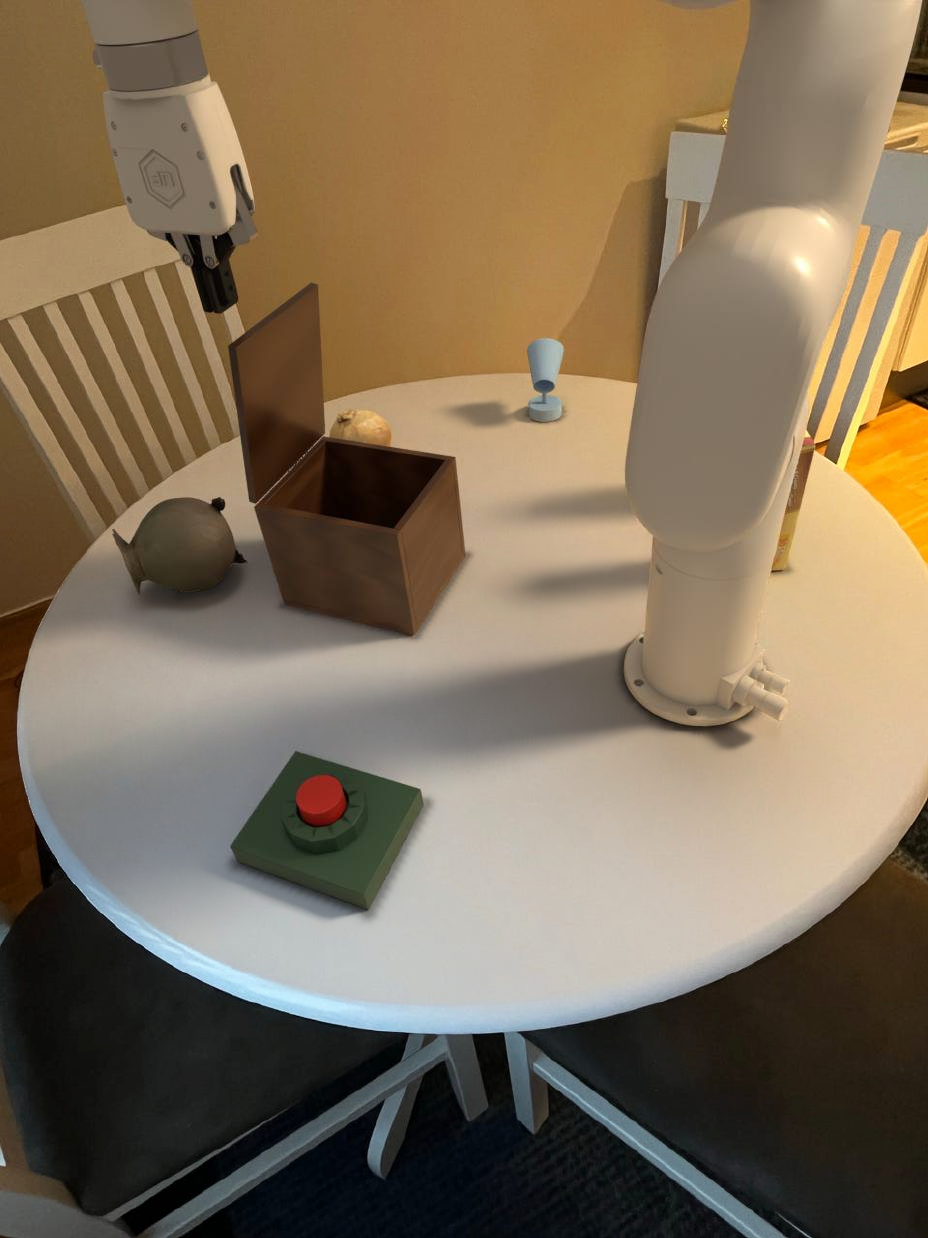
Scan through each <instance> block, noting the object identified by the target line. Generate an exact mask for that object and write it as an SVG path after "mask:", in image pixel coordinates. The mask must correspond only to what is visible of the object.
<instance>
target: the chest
mask: <svg viewBox="0 0 928 1238" xmlns="http://www.w3.org/2000/svg"><path fill="white" fill-rule="evenodd" d="M458 477H459V476H458V467H457V458H456V456H454V455H453V456H452V455H445V454H439V453H433V452H426V451H420V450H414V449H413V450H412V449H407V448H401V447H394V446H390V447H389V446H382V445H376V444H369V443H363V442H356V441H350V440H344V439H337V438H331V437H330V436H324V435H323V436H322V437H321V438H320V439H319V440H318V441H317V442H316V443H315V444H314V445H313V446H312V447H311V448H310V449H309V450H308V451H307V452H306V453H305V454H304V455H303V456H302V457H301V459H300V460H299V461H298V462H297V463H296V464H295V465H294V466H293V467H292V468H291V469H290V470H289V471H288V472H287V473H286V474H285V475H284V476H283V477H282V478H281V479H280V480H279V481H278V482H277V483H276V484H275V485H274V486H273V487H272V488H271V489H270V490H269V491H268V492H267V493H266V494H265V495H264V496H263V497H262V498H261V499H260V500H259V501H258V502H257V503H256V504H255V505H254V507H253V509H254V512H255V516H256V519H257V522H258V526H259V528H260V532H261V534H262V538H263V542H264V545H265V548H266V551H267V554H268V558H269V562H270V565H271V568H272V571H273V574H274V577H275V581H276V584H277V587H278V590H279V594H280V597H281V599H282V602H283V603H282V604H283V605H284V606H288V607H292V608H296V609H300V610H305V611H308V612H314V613H318V614H321V615H326V616H330V617H334V618H338V619H343V620H347V621H352V622H355V623H359V624H364V625H368V626H372V627H376V628H380V629H385V630H389V631H393V632H398V633H402V634H405V635H410V636H416V634H417V632H418V631H419V629H420V627H421V626H422V624H423V622H424V621H425V620H426V618H427V616H428V615H429V613H430V611H431V610H432V608H433V607H434V605H435V604H436V602H437V601H438V599H439V597H440V596H441V594H442V593H443V591H444V590H445V588H446V587H447V585H448V583H449V582H450V580H451V579H452V578H453V576H454V574H455V573H456V571H457V569H458V568H459V566H460V565H461V563H462V561H463V560H464V559H465V557H466V546H465V537H464V527H463V517H462V506H461V497H460V487H459V478H458Z"/></svg>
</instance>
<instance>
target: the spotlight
mask: <svg viewBox="0 0 928 1238" xmlns="http://www.w3.org/2000/svg"><path fill="white" fill-rule="evenodd" d="M526 353H527V354H526V355H527V360H528V365H529V371H530V377H531V383H532V388H533V390H534V391H535V392H537V393H540V394H541V395H536V396H534V397H533V398H531V399H530V400H529V401H528V407H527V408H528V409H527V410H528V417H529V418H530V419H531V420H533V421H536V422H540V423H547V422H548V423H549V422H553V421H556V420H558V419H560V418H561V416H562V414H563V404H562V403H563V402H562V399H560V398H559V397H558V396H556V395H552V394H549V393H551V392H553V391H554V390H555V388H556V385H557V381H558V377H559V374H560V369H561V366H562V362H563V357H564V354H565V347H564V345H563V344H562V343H561V342H560V341H558V340H556V339H554V338H550V337H543V338H537V339H534V340H533V341H532V342H531V343H529V344H528V346H527V348H526Z"/></svg>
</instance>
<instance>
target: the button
mask: <svg viewBox="0 0 928 1238" xmlns="http://www.w3.org/2000/svg"><path fill="white" fill-rule="evenodd" d="M296 802H297V805H298V807H299V810H300V813H301V815H302V818H303V819H304V820H305V821H306V822H307V823H309V824H310V825H313V826H326V825H329V824H332V823H333V822H335V821H337V820H338V819H339V818H340V817H341V816H342V814H343V813H344V811H345V808H346V799H345V796H344V792H343V789H342V786H341V784H340V782H339V781H338V780H337V779H336V778H334V777H332V776H328V775H319V776H315V777H312V778H310V779H308V780H307V781H305V782H304V783H303V784H302V785H301V786H300V788H299V789H298V791H297V795H296Z"/></svg>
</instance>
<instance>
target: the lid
mask: <svg viewBox="0 0 928 1238" xmlns="http://www.w3.org/2000/svg"><path fill="white" fill-rule="evenodd" d="M320 315H321V314H320V295H319V284H318V283H314V282H309V283H308V284H307V285H305V287H303V288H302V289H300V290H299V291H298V292H296V293H295V294H293V296H292V297H290V298H289V299H287V300H286V301H284V302H283V303H282V304H281V305H279V306H278V307H277V308H276V309H274V310H272V311H271V312H270V313H269V314H267V315H266V316H265V317H264V318H262V319H261V320H259V322H257V323H256V324H255V325H253V326H252V327H250V328H249V329H248V330H246V331H245V332H243V334H242V335H240V336H239V337H237V338H236V339H235V340H233V341H232V342H231V343H229V344H228V345H227V350H228V356H229V363H230V364H229V365H230V371H231V378H232V386H233V392H234V394H233V395H234V400H235V407H236V414H237V422H238V429H239V437H240V445H241V452H242V460H243V466H244V473H245V481H246V482H245V483H246V489H247V497H248V502H249V503H252V504H255V505H256V504H257V503H259V501H260V500H261V499H262V498H263V497H264V496H265V495H266V494H267V493H268V492H269V491H270V490H271V489H272V488H273V487H274V486H275V485H276V484H277V483H278V482H279V481H280V480H281V479H282V478H283V477H284V476H285V475H286V474H287V473H288V472H289V471H290V470H291V469H292V468H293V467H294V466H295V465H296V464H297V463H298V462H299V461H300V460H301V459H302V457H303V456H304V455H305V454H306V453H307V452H308V451H309V450H310V449H311V448H312V447H313V446H314V445H315V444H316V443H317V442H318V441H319V440H320V439H321V438H322V437H323V436H324V435H325V434H326V420H325V401H324V399H325V398H324V397H325V396H324V381H323V380H324V379H323V362H322V361H323V359H322V358H323V357H322V356H323V355H322V337H321V318H320V317H321V316H320Z"/></svg>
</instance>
